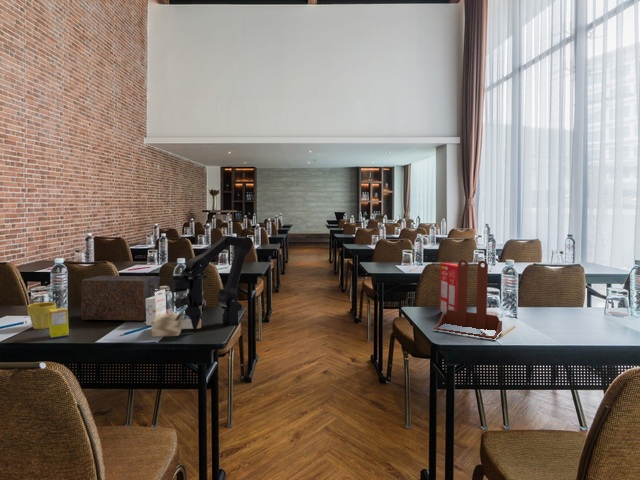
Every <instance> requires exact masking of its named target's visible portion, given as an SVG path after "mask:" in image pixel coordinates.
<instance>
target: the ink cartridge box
mask: <svg viewBox="0 0 640 480" xmlns="http://www.w3.org/2000/svg"><path fill="white" fill-rule="evenodd" d="M154 294H155V296H153V297H150V298H147V299H146V320H145V322H146V324H145V325H146V326H152V321H153V320H154V319H155V318H156V317H157V315H158V314H166V313H167V300H166V299H167V298H166V297H167V295H166V290H165V288H164V289H161V290H159V291H157V292H155V293H154ZM158 294H159V295H158Z"/></svg>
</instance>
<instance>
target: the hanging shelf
mask: <svg viewBox="0 0 640 480" xmlns="http://www.w3.org/2000/svg"><path fill="white" fill-rule="evenodd" d="M462 263H464V264H462ZM457 264H458V289H457V311H456V310H448V311H447V313H446V314H445V313H444V314H441V316H440V319H439V321H438V323H437V325H436V326H434V327H433V330H434V329H437V330H443V331H449V332H455V333H461V334H468V335H474V336H479V337H485V338H492V339H495V338H496V337H497V335H498V334H499V333H500V332H501V331H502V332H503V320H500V319H499V316H498V315H496V314H495V315H494V314H488V313H487V312H488V311H487V310H488V307H487V306H488V278H489V277H488V274H489V264H488V262H487V261H485V260H480V261H478V263H477V265H476V266H477V268H476V269H477V271H476V275H477V276H476V302H475V303H476V306H475V307H476V309H475V310H476V311H475V312H470V311H468V288H469V287H468V283H469V277H468V276H469V263H468V260H467V259H460V260H459V261H458V262H457ZM482 264H483V265H484V266H482ZM462 265H463V266H462ZM445 323H446V324H451V325H457V326H462V327H472V328H476V329H484V330H486V329H487V330H495V331H496V333H495V335H494V336H486V334H485V333H483V334H482V335H480V334H473V333H466V332H460V331H453V330H447V329H440V328H438V327H440V326H441V325H443V324H445ZM481 333H482V332H481Z"/></svg>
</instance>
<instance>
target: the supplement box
mask: <svg viewBox="0 0 640 480" xmlns="http://www.w3.org/2000/svg"><path fill="white" fill-rule="evenodd" d="M68 313H69V311H68V308H66V306H64V307H56V308H54V309H49V328H48V329H49V330H48V332H49V338H50V340H55V339H60V338H69V335H70V334H69V314H68Z"/></svg>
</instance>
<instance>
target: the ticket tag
mask: <svg viewBox="0 0 640 480" xmlns="http://www.w3.org/2000/svg"><path fill="white" fill-rule="evenodd" d="M201 328H202V318H201V319H200V320H199V323H198V326H197V328H196V329H201ZM181 329H182V330H184V329H187V330H188V329H189V330H190V329H191V330H192V329H193V326H192V322H191V319H190V318H187V319H185V318H184V319H183V320H181Z"/></svg>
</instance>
